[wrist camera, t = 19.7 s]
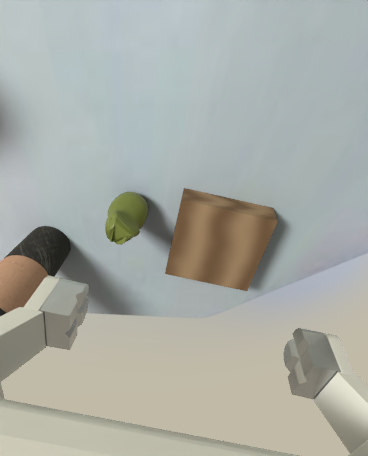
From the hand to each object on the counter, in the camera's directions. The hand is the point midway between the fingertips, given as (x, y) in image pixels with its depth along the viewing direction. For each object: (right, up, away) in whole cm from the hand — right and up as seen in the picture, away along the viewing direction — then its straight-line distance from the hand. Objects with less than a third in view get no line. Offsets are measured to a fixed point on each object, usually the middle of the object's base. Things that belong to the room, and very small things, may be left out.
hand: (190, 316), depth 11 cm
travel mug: (-24, +1, +41) cm, 48 cm away
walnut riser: (+5, +2, +37) cm, 38 cm away
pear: (-8, +8, +35) cm, 37 cm away
